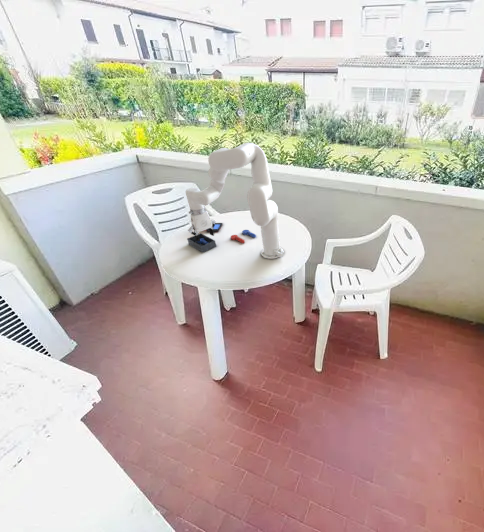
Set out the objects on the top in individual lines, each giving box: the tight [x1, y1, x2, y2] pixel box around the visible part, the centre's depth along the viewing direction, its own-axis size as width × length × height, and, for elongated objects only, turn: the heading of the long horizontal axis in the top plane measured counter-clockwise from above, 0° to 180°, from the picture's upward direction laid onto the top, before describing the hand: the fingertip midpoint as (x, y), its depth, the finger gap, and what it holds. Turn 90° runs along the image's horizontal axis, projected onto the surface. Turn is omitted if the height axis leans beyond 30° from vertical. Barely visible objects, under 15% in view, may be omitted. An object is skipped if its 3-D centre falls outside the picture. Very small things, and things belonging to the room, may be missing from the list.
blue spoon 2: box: [241, 229, 257, 238], centre depth 181 cm, size 12×4×2 cm, turn 52°
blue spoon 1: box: [197, 238, 209, 244], centre depth 170 cm, size 12×4×2 cm, turn 52°
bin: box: [186, 232, 217, 254], centre depth 169 cm, size 15×9×4 cm, turn 52°
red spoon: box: [230, 234, 246, 244], centre depth 175 cm, size 12×4×2 cm, turn 51°
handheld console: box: [205, 222, 224, 233], centre depth 187 cm, size 12×11×7 cm
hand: (205, 237), depth 167 cm, fingers open, 8 cm apart
